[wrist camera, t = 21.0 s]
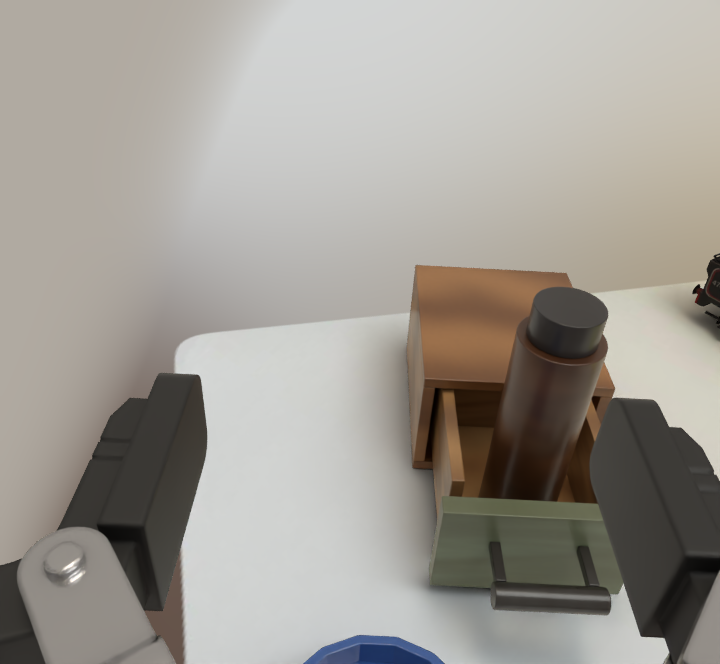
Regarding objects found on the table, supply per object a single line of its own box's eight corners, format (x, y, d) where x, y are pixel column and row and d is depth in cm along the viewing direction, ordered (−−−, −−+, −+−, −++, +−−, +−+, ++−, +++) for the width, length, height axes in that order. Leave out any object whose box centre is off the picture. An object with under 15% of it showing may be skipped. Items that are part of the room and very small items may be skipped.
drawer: (637, 658, 38) (677, 587, 34) (433, 648, 38) (449, 576, 34) (568, 435, 52) (590, 366, 48) (419, 427, 52) (429, 357, 48)
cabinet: (584, 477, 50) (615, 388, 44) (412, 468, 49) (424, 378, 44) (545, 353, 61) (566, 272, 56) (406, 346, 61) (415, 264, 56)
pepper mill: (482, 535, 42) (532, 330, 33) (474, 477, 46) (516, 279, 37) (558, 539, 43) (630, 336, 33) (543, 481, 46) (604, 283, 37)
